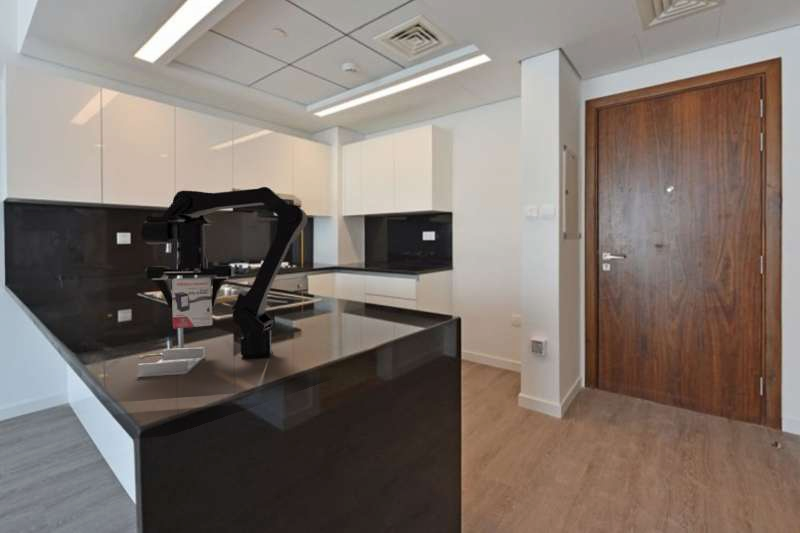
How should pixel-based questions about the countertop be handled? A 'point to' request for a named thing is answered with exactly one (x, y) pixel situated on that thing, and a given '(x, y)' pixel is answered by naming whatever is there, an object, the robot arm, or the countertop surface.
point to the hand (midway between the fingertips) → (192, 306)
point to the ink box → (191, 302)
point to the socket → (173, 362)
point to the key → (149, 355)
